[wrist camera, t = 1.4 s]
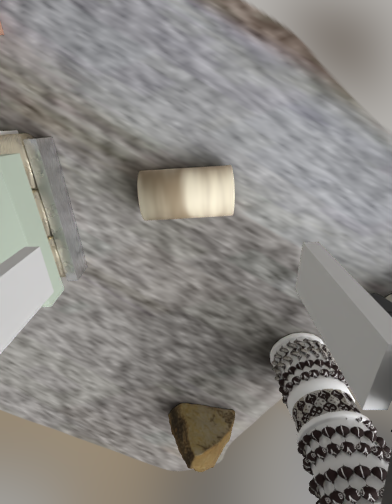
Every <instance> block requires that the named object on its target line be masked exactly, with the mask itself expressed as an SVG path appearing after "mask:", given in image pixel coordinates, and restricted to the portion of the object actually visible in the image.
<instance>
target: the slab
mask: <svg viewBox="0 0 392 504" xmlns="http://www.w3.org/2000/svg"><path fill="white" fill-rule="evenodd" d="M37 246H40V249H41V252H42V255H43V259H44V262H45V265H46V268H47V271H48V274H49V278H50V281H51V284H52V287H53V290H54V292H53V294H52V295H51V296H50V297H49V298H48V299H47V301H46V302H45V303H44V304H43V305H42V306H41V307H51V306H52V305H53V304H54V302H55V301H56V300H57V298H58V297H59V296H60V294H61V293H62V292H63V290H64V287H63V284H62V281H61V278H60V275H59V272H58V269H57V266H56V263H55V260H54V257H53V254H52V251H51V248H50V245H49V242H48V239H47V235H46V232H45V229H44V226H43V223H42V220H41V217H40V214H39V211H38V208H37V205H36V202H35V199H34V196H33V193H32V190H31V187H30V184H29V181H28V178H27V175H26V171H25V168H24V165H23V162H22V159H21V156H20V153H15V154H0V264H1V263H3V262H4V261H5V260H7V259H8V258H10V257H11V256H12V255H14V254H15V253H17V252H18V251H19V250H21V249H22V248H24V247H37Z"/></svg>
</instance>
